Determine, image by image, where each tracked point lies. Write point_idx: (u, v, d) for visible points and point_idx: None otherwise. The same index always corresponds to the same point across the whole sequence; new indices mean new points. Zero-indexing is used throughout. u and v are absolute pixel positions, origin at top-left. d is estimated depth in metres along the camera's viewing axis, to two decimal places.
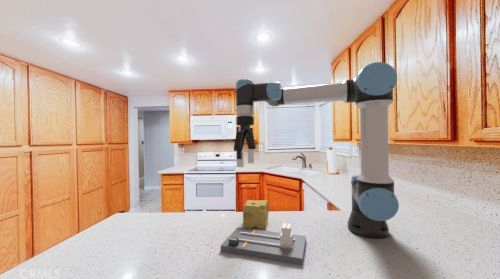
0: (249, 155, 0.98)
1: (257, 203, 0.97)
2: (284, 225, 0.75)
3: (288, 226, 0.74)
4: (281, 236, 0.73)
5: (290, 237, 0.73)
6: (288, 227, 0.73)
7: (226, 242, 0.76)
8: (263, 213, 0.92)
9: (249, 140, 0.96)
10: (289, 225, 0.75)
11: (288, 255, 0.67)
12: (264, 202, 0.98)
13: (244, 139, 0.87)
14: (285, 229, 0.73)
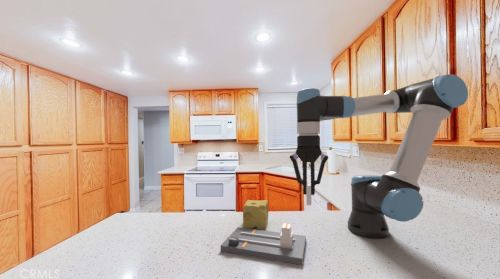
0: None
1: (257, 203, 0.97)
2: (284, 225, 0.75)
3: (288, 226, 0.74)
4: (281, 236, 0.73)
5: (290, 237, 0.73)
6: (288, 227, 0.73)
7: (226, 242, 0.76)
8: (263, 213, 0.92)
9: None
10: (289, 225, 0.75)
11: (288, 255, 0.67)
12: (264, 202, 0.98)
13: (304, 168, 0.72)
14: (285, 229, 0.73)
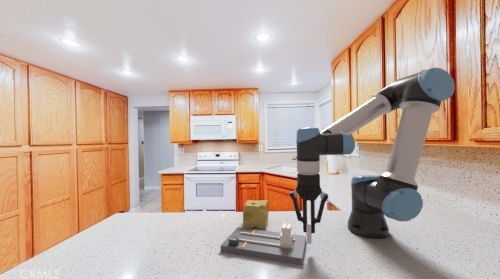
0: None
1: (257, 203, 0.97)
2: (284, 225, 0.75)
3: (288, 226, 0.74)
4: (281, 236, 0.73)
5: (290, 237, 0.73)
6: (288, 227, 0.73)
7: (226, 242, 0.76)
8: (263, 213, 0.92)
9: None
10: (289, 225, 0.75)
11: (288, 255, 0.67)
12: (264, 202, 0.98)
13: (304, 206, 0.72)
14: (285, 229, 0.73)
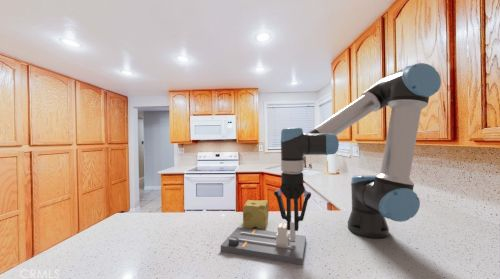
0: None
1: (257, 203, 0.97)
2: (280, 225, 0.76)
3: (284, 226, 0.75)
4: (277, 235, 0.74)
5: (286, 236, 0.73)
6: (284, 227, 0.74)
7: (226, 242, 0.76)
8: (263, 213, 0.92)
9: (294, 205, 0.73)
10: (285, 225, 0.76)
11: (288, 255, 0.67)
12: (264, 202, 0.98)
13: (288, 204, 0.73)
14: (281, 229, 0.73)
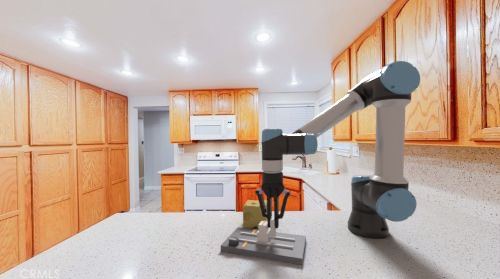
0: None
1: (257, 203, 0.97)
2: (261, 222, 0.78)
3: (265, 223, 0.77)
4: (258, 233, 0.76)
5: (266, 234, 0.75)
6: (265, 224, 0.76)
7: (226, 242, 0.76)
8: None
9: None
10: (266, 222, 0.78)
11: (288, 255, 0.67)
12: None
13: (268, 203, 0.76)
14: (262, 226, 0.76)
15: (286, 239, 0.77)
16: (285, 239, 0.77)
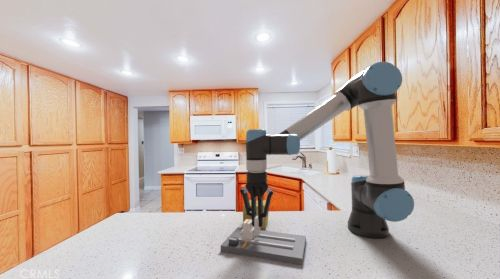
0: None
1: (257, 203, 0.97)
2: (246, 221, 0.80)
3: (249, 222, 0.79)
4: (242, 231, 0.78)
5: (250, 232, 0.77)
6: (249, 222, 0.78)
7: (226, 242, 0.76)
8: None
9: None
10: (251, 221, 0.80)
11: (288, 255, 0.67)
12: (264, 202, 0.98)
13: (252, 202, 0.78)
14: (246, 224, 0.78)
15: (286, 239, 0.77)
16: (285, 239, 0.77)
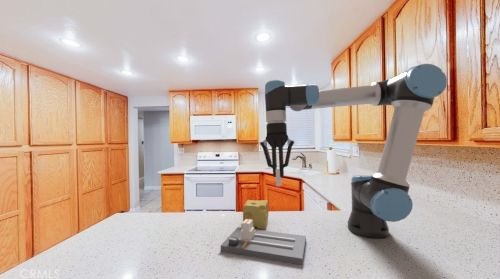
0: None
1: (257, 203, 0.97)
2: (245, 221, 0.80)
3: (249, 221, 0.79)
4: (242, 231, 0.78)
5: (250, 232, 0.77)
6: (248, 222, 0.78)
7: (226, 242, 0.76)
8: (263, 213, 0.92)
9: (279, 153, 0.79)
10: (250, 221, 0.80)
11: (288, 255, 0.67)
12: (264, 202, 0.98)
13: (273, 153, 0.79)
14: (245, 224, 0.78)
15: (286, 239, 0.77)
16: (285, 239, 0.77)
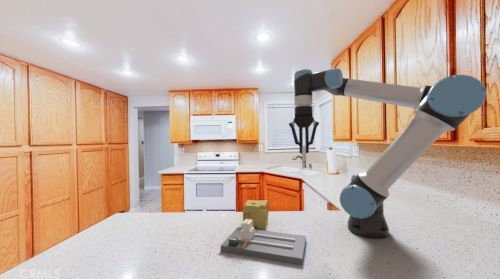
0: None
1: (257, 203, 0.97)
2: (245, 221, 0.80)
3: (249, 221, 0.79)
4: (242, 231, 0.78)
5: (250, 232, 0.77)
6: (248, 222, 0.78)
7: (226, 242, 0.76)
8: (263, 213, 0.92)
9: (305, 132, 0.91)
10: (250, 221, 0.80)
11: (288, 255, 0.67)
12: (264, 202, 0.98)
13: (300, 132, 0.91)
14: (245, 224, 0.78)
15: (286, 239, 0.77)
16: (285, 239, 0.77)
